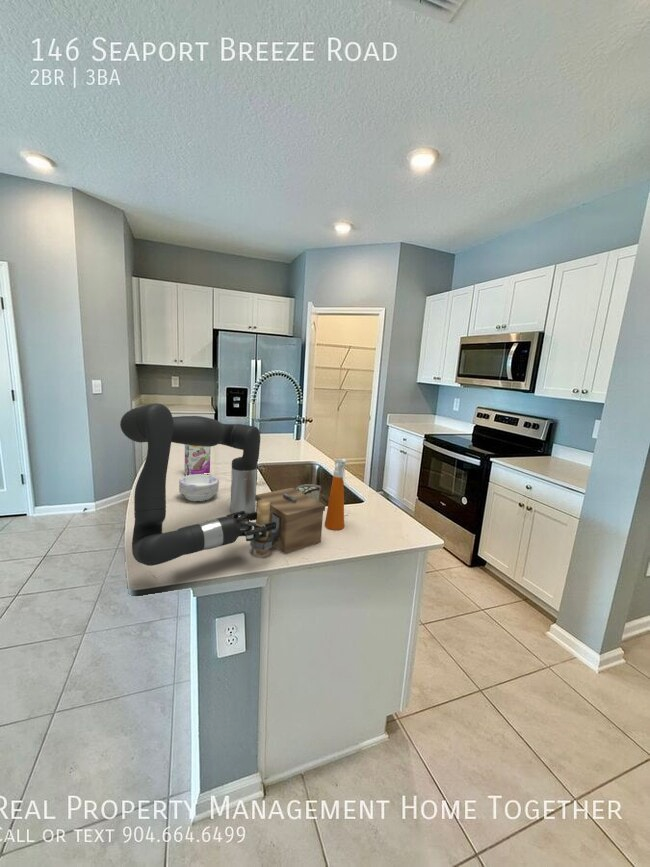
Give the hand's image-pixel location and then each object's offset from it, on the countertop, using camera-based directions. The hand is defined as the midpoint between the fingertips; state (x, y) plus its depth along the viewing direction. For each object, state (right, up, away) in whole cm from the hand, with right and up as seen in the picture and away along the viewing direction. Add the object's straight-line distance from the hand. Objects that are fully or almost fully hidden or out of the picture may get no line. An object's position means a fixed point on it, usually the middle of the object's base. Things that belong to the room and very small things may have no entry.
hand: (268, 519), depth 106 cm
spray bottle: (+21, -8, +20) cm, 30 cm away
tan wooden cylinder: (-2, -10, +1) cm, 10 cm away
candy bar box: (-45, +5, +67) cm, 81 cm away
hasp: (-1, -7, +1) cm, 8 cm away
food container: (+9, -5, +33) cm, 34 cm away
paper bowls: (-35, -1, +39) cm, 52 cm away
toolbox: (+5, -8, +11) cm, 15 cm away
